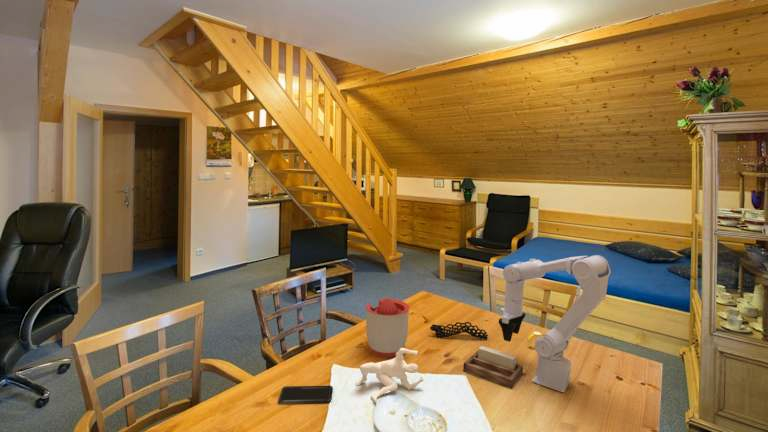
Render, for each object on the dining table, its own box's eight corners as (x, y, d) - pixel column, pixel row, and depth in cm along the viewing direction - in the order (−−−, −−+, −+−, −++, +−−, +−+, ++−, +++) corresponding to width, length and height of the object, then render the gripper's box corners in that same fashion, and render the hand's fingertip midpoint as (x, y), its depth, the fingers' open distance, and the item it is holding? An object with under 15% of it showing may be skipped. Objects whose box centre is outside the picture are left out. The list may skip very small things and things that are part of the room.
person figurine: (365, 369, 110) (417, 344, 119) (347, 358, 121) (396, 336, 130) (376, 413, 111) (427, 385, 119) (357, 399, 122) (405, 374, 130)
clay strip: (515, 370, 129) (516, 356, 128) (512, 374, 127) (513, 359, 126) (480, 359, 136) (481, 345, 136) (477, 362, 134) (478, 348, 134)
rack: (522, 373, 130) (523, 365, 129) (511, 388, 121) (511, 380, 120) (477, 358, 139) (477, 350, 139) (463, 371, 130) (463, 363, 130)
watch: (542, 347, 149) (544, 332, 148) (544, 350, 146) (547, 335, 145) (526, 345, 149) (528, 330, 148) (528, 348, 146) (530, 333, 146)
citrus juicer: (383, 335, 156) (384, 286, 153) (417, 351, 143) (418, 298, 141) (353, 348, 145) (353, 296, 142) (386, 366, 132) (388, 309, 130)
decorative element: (486, 336, 158) (486, 322, 157) (488, 341, 153) (489, 327, 152) (429, 333, 159) (430, 319, 158) (430, 338, 154) (430, 324, 153)
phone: (331, 401, 112) (277, 402, 111) (331, 404, 112) (277, 405, 111) (333, 385, 120) (282, 386, 119) (333, 388, 120) (283, 389, 119)
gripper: (509, 290, 142) (507, 326, 143) (494, 301, 130) (491, 340, 132) (529, 295, 137) (526, 331, 139) (515, 306, 126) (512, 346, 128)
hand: (511, 336), depth 135 cm, fingers open, 7 cm apart
